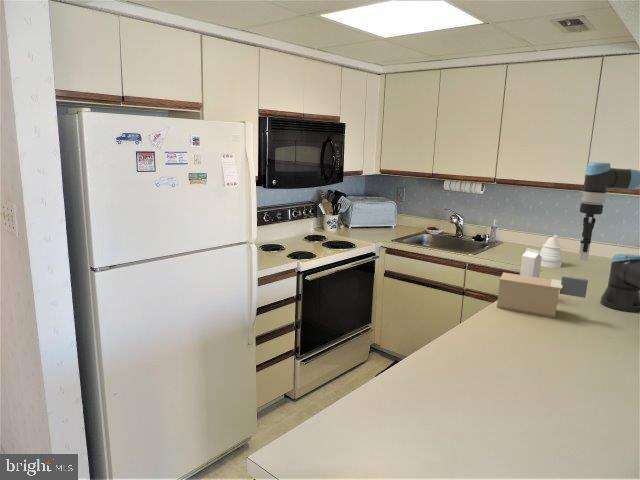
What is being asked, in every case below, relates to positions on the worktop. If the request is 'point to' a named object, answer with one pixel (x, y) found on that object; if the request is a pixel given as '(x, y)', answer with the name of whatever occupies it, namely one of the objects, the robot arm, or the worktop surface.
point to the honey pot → (551, 253)
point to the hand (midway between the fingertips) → (583, 256)
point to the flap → (551, 283)
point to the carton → (527, 298)
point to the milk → (531, 263)
